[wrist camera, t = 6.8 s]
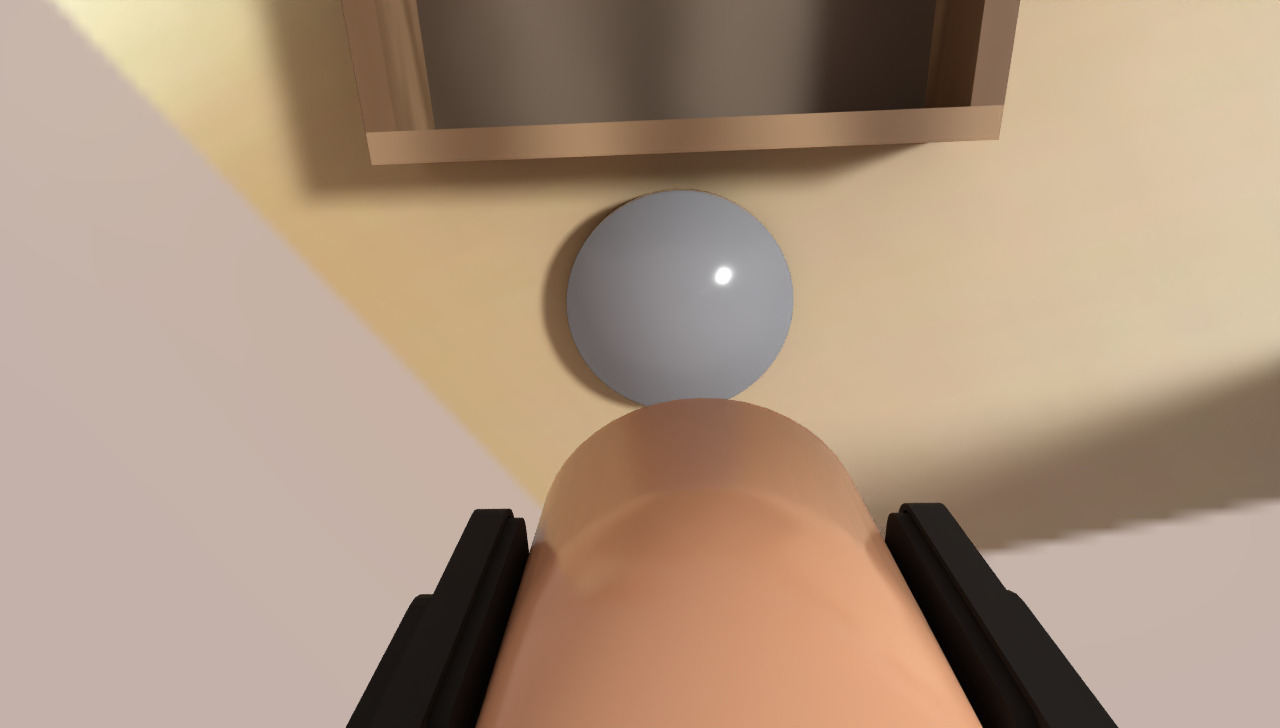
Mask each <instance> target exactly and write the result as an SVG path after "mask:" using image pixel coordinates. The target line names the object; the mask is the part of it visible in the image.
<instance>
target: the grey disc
mask: <svg viewBox="0 0 1280 728" xmlns="http://www.w3.org/2000/svg"><path fill="white" fill-rule="evenodd" d="M792 311H793V287H792V281H791V275H790V272H789V268H788V265H787V262H786V260H785V258H784V255H783V253H782V251H781V249H780V247H779V246H778V244H777V243H776V241H775V239H774V238H773V236H772V235H771V234H770V233H769V232H768V230H767V229H766V228H765V227H764V226H763V225H762V224H761V223H760V222H759V221H758V220H757V219H756V218H755V217H754V216H753V215H752V214H750V213H749V212H748V211H747V210H745V209H744V208H742V207H741V206H739V205H738V204H736V203H735V202H733V201H730V200H728V199H726V198H724V197H722V196H719V195H716V194H713V193H709V192H706V191H700V190H694V189H669V190H660V191H656V192H652V193H648V194H645V195H642V196H640V197H637V198H635V199H632V200H630V201H629V202H627V203H625V204H623V205H621V206H620V207H618V208H617V209H616V210H614V211H613V212H612V213H610V214H609V215H608V216H606V217H605V218H604V219H603V220H602V221H601V222H600V223H599V224H598V225H597V226H596V228H595V229H594V230H593V232H592V233H591V234H590V235H589V237H588V238H587V240H586V241H585V243H584V245H583V246H582V248H581V250H580V251H579V253H578V255H577V257H576V260H575V262H574V265H573V267H572V270H571V274H570V278H569V282H568V289H567V316H568V322H569V327H570V330H571V334H572V337H573V340H574V342H575V344H576V347H577V349H578V351H579V353H580V355H581V356H582V358H583V359H584V361H585V363H586V364H587V365H588V367H589V368H590V369H591V370H592V372H593V373H594V374H595V375H596V376H597V377H598V378H599V379H600V380H601V381H602V382H603V383H604V384H606V385H607V386H608V387H610V388H611V389H612V390H614V391H615V392H617V393H618V394H620V395H622V396H624V397H625V398H627V399H630V400H632V401H634V402H637V403H639V404H642V405H646V406H651V405H654V404H658V403H663V402H668V401H673V400H679V399H691V398H718V399H730V398H732V397H734V396H736V395H737V394H739V393H740V392H742V391H744V390H745V389H747V388H748V387H749V386H751V385H752V384H753V383H754V382H755V381H757V380H758V379H759V378H760V377H761V376H762V375H763V374H764V373H765V372H766V370H767V369H768V368H769V367H770V365H771V364H772V363H773V361H774V360H775V359H776V357H777V355H778V353H779V352H780V350H781V348H782V346H783V344H784V342H785V339H786V337H787V334H788V331H789V327H790V323H791V319H792Z"/></svg>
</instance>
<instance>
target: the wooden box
mask: <svg viewBox="0 0 1280 728" xmlns="http://www.w3.org/2000/svg"><path fill="white" fill-rule="evenodd" d="M341 1H342V7H343V12H344V18H345V23H346V29H347V34H348V39H349V45H350V50H351V56H352V61H353V67H354V72H355V78H356V83H357V88H358V94H359V99H360V105H361V110H362V116H363V121H364V126H365V132H366V137H367V143H368V148H369V154H370V159H371V164H372V165H389V164H413V163H438V162H462V161H487V160H511V159H536V158H560V157H585V156H609V155H634V154H658V153H683V152H707V151H732V150H756V149H781V148H805V147H830V146H854V145H879V144H903V143H928V142H952V141H977V140H999V134H1000V128H1001V121H1002V115H1003V108H1004V102H1005V95H1006V89H1007V82H1008V76H1009V69H1010V63H1011V56H1012V50H1013V43H1014V37H1015V30H1016V24H1017V17H1018V11H1019V4H1020V0H341Z"/></svg>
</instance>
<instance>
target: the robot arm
mask: <svg viewBox="0 0 1280 728" xmlns="http://www.w3.org/2000/svg"><path fill="white" fill-rule="evenodd" d="M885 543H886V545H887V547H888V549H889V551H890V553H891V555H892V556H893V558H894V560H895V562H896V564H897V566H898V568H899V570H900V572H901V574H902V575H903V577H904V579H905V581H906V583H907V585H908V587H909V589H910V591H911V593H912V594H913V596H914V598H915V600H916V602H917V604H918V606H919V608H920V610H921V612H922V613H923V615H924V617H925V619H926V621H927V623H928V625H929V627H930V629H931V631H932V632H933V634H934V636H935V638H936V640H937V642H938V644H939V646H940V648H941V650H942V651H943V653H944V655H945V657H946V659H947V661H948V663H949V665H950V667H951V669H952V670H953V672H954V674H955V676H956V678H957V680H958V682H959V684H960V686H961V688H962V689H963V691H964V693H965V695H966V697H967V699H968V701H969V703H970V705H971V707H972V708H973V710H974V712H975V714H976V716H977V718H978V720H979V722H980V724H981V726H982V727H983V728H1118V727H1117V725H1116V724H1115V723H1114V721H1113V720H1112V719H1111V717H1110V716H1109V715H1108V713H1107V712H1106V711H1105V709H1104V708H1103V707H1102V705H1101V704H1100V703H1099V701H1098V700H1097V699H1096V697H1095V696H1094V695H1093V693H1092V692H1091V691H1090V689H1089V688H1088V687H1087V685H1086V684H1085V683H1084V681H1083V680H1082V679H1081V677H1080V676H1079V675H1078V673H1077V672H1076V671H1075V669H1074V668H1073V667H1072V665H1071V664H1070V663H1069V662H1068V660H1067V659H1066V657H1065V656H1064V655H1063V653H1062V652H1061V651H1060V649H1059V648H1058V647H1057V645H1056V644H1055V643H1054V641H1053V640H1052V639H1051V637H1050V636H1049V635H1048V633H1047V632H1046V631H1045V629H1044V628H1043V627H1042V625H1041V624H1040V623H1039V621H1038V620H1037V619H1036V617H1035V616H1034V615H1033V613H1032V612H1031V610H1030V609H1029V608H1028V607H1027V605H1026V604H1025V602H1024V601H1023V600H1022V599H1021V598H1020V597H1019V596H1018V595H1017V594H1016V593H1013V592H1011V591H1010V590H1006V588H1005V587H1004V586H1003V585H1002V583H1001V582H1000V580H999V579H998V578H997V576H996V575H995V573H994V572H993V571H992V569H991V568H990V567H989V565H988V564H987V563H986V561H985V560H984V558H983V557H982V556H981V554H980V553H979V552H978V550H977V549H976V547H975V546H974V545H973V543H972V542H971V541H970V539H969V538H968V537H967V535H966V534H965V532H964V531H963V530H962V528H961V527H960V526H959V524H958V523H957V521H956V520H955V519H954V517H953V516H952V515H951V513H950V512H949V511H948V509H947V508H946V507H945V506H944V505H943V504H941V503H904V504H902V505H901V507H900V509H899V513H891V514H889V516H888V520H887V527H886V536H885ZM528 556H529V549H528V540H527V532H526V525H525V521H524V519H523V518H514V515H513V512H512V510H511V509H477V510H475V511H474V512H473V514H472V515H471V518H470V519H469V521H468V524H467V526H466V528H465V530H464V532H463V534H462V536H461V538H460V540H459V542H458V544H457V546H456V548H455V550H454V553H453V555H452V556H451V558H450V561H449V563H448V565H447V567H446V569H445V571H444V573H443V575H442V577H441V579H440V581H439V583H438V585H437V588H436V590H435V591H434V594H422V595H418V596H417V597H415V599H414V600H413V601H412V603H411V604H410V606H409V608H408V610H407V611H406V613H405V615H404V617H403V619H402V621H401V623H400V625H399V627H398V629H397V631H396V633H395V634H394V636H393V638H392V640H391V642H390V644H389V646H388V648H387V650H386V652H385V654H384V655H383V657H382V659H381V661H380V663H379V665H378V667H377V669H376V671H375V673H374V675H373V676H372V678H371V680H370V682H369V684H368V686H367V688H366V690H365V692H364V694H363V696H362V698H361V699H360V701H359V703H358V705H357V707H356V709H355V711H354V713H353V715H352V717H351V718H350V720H349V722H348V724H347V726H346V728H475V726H476V723H477V720H478V717H479V714H480V710H481V707H482V704H483V701H484V697H485V694H486V691H487V688H488V685H489V681H490V678H491V675H492V672H493V668H494V665H495V662H496V659H497V656H498V652H499V649H500V646H501V643H502V639H503V636H504V633H505V630H506V627H507V623H508V620H509V617H510V614H511V610H512V607H513V604H514V601H515V598H516V594H517V591H518V588H519V585H520V582H521V578H522V575H523V572H524V569H525V565H526V562H527V559H528Z"/></svg>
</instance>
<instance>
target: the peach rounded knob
mask: <svg viewBox="0 0 1280 728" xmlns="http://www.w3.org/2000/svg"><path fill="white" fill-rule="evenodd" d="M475 728H983V727H982V726H981V724H980V722H979V720H978V718H977V716H976V714H975V712H974V710H973V708H972V707H971V705H970V703H969V701H968V699H967V697H966V695H965V693H964V691H963V689H962V688H961V686H960V684H959V682H958V680H957V678H956V676H955V674H954V672H953V670H952V669H951V667H950V665H949V663H948V661H947V659H946V657H945V655H944V653H943V651H942V650H941V648H940V646H939V644H938V642H937V640H936V638H935V636H934V634H933V632H932V631H931V629H930V627H929V625H928V623H927V621H926V619H925V617H924V615H923V613H922V612H921V610H920V608H919V606H918V604H917V602H916V600H915V598H914V596H913V594H912V593H911V591H910V589H909V587H908V585H907V583H906V581H905V579H904V577H903V575H902V574H901V572H900V570H899V568H898V566H897V564H896V562H895V560H894V558H893V556H892V555H891V553H890V551H889V549H888V547H887V545H886V543H885V541H884V539H883V538H882V536H881V534H880V532H879V530H878V528H877V526H876V524H875V522H874V520H873V519H872V517H871V515H870V513H869V511H868V509H867V507H866V505H865V503H864V501H863V500H862V498H861V496H860V494H859V492H858V490H857V488H856V486H855V484H854V482H853V481H852V479H851V477H850V475H849V473H848V471H847V470H846V469H845V467H844V466H843V464H842V463H841V461H840V460H839V458H838V457H837V456H836V455H835V454H834V453H833V452H832V450H831V449H830V448H829V447H828V446H827V445H826V444H825V443H824V442H823V441H822V440H821V439H819V438H818V437H817V436H815V435H814V434H813V433H812V432H810V431H809V430H808V429H807V428H805V427H803V426H802V425H800V424H798V423H797V422H795V421H793V420H792V419H790V418H788V417H786V416H784V415H781V414H779V413H777V412H774V411H772V410H770V409H767V408H764V407H760V406H757V405H753V404H750V403H746V402H741V401H734V400H728V399H718V398H691V399H679V400H673V401H668V402H663V403H658V404H654V405H651V406H648V407H645V408H642V409H639V410H636V411H633V412H631V413H628V414H626V415H624V416H622V417H620V418H618V419H616V420H614V421H612V422H611V423H609V424H607V425H606V426H604V427H603V428H601V429H600V430H598V431H597V432H595V433H594V434H593V435H592V436H590V437H589V438H588V439H587V440H586V441H585V442H583V443H582V444H581V445H580V446H579V447H578V448H577V449H576V450H575V451H574V453H573V454H572V455H571V456H570V457H569V458H568V459H567V460H566V462H565V463H564V465H563V466H562V468H561V469H560V471H559V472H558V474H557V475H556V477H555V479H554V481H553V483H552V486H551V488H550V490H549V492H548V495H547V498H546V501H545V504H544V507H543V511H542V514H541V517H540V520H539V524H538V527H537V530H536V533H535V537H534V540H533V543H532V546H531V549H530V553H529V556H528V559H527V562H526V565H525V569H524V572H523V575H522V578H521V582H520V585H519V588H518V591H517V594H516V598H515V601H514V604H513V607H512V610H511V614H510V617H509V620H508V623H507V627H506V630H505V633H504V636H503V639H502V643H501V646H500V649H499V652H498V656H497V659H496V662H495V665H494V668H493V672H492V675H491V678H490V681H489V685H488V688H487V691H486V694H485V697H484V701H483V704H482V707H481V710H480V714H479V717H478V720H477V723H476V726H475Z"/></svg>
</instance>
